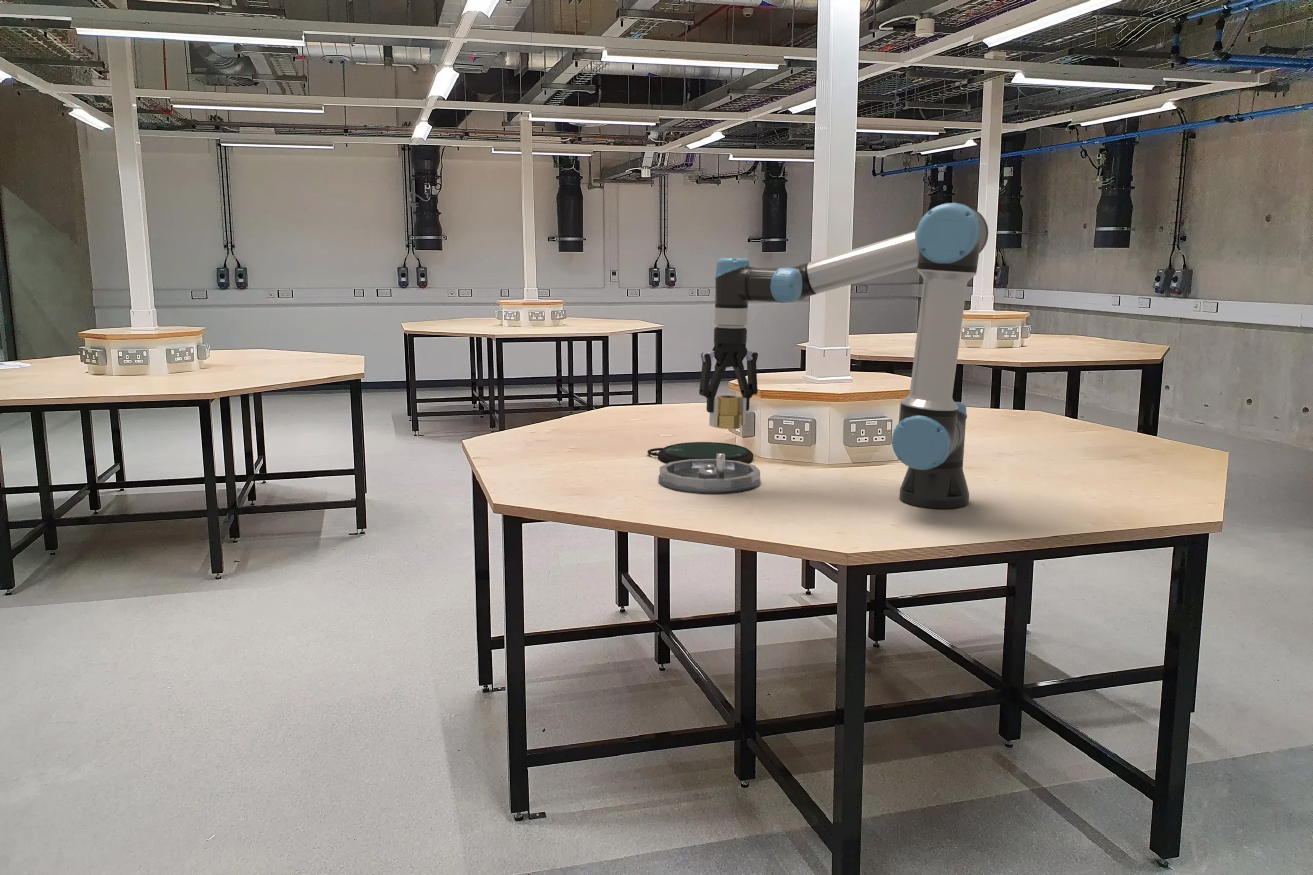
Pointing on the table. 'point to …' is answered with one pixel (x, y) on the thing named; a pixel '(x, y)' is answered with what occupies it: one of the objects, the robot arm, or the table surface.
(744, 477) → the carrier
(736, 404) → the brass hex pipe fitting
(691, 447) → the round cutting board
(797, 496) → the table surface
